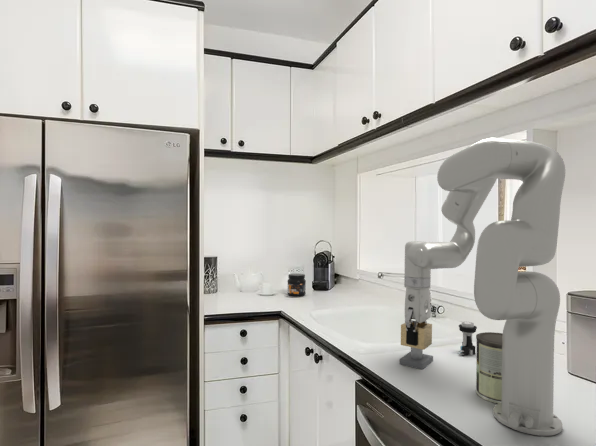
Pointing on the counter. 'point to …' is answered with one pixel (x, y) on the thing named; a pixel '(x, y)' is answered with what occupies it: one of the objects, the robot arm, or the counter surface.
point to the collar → (419, 335)
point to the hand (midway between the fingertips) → (416, 341)
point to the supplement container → (296, 285)
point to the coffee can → (489, 366)
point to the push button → (467, 338)
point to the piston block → (416, 359)
